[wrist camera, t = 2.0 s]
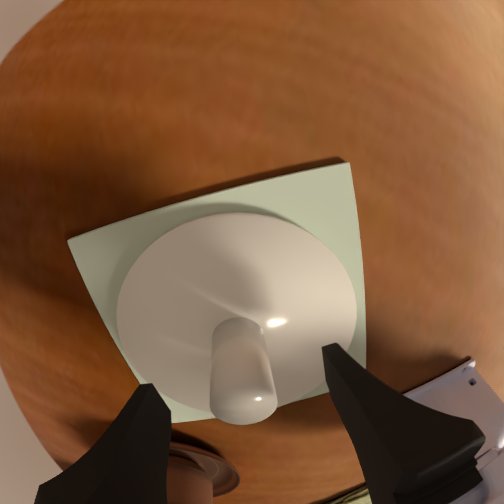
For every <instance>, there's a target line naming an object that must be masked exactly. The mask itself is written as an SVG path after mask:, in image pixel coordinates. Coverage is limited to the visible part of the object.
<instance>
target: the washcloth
mask: <svg viewBox="0 0 504 504" xmlns="http://www.w3.org/2000/svg"><path fill="white" fill-rule="evenodd" d="M325 504H372V502H371V498H370V495H369V491H368V488H367V485H366V486H363V487H361V488H359V489H357V490H355V491H353V492H351V493H349V494H347V495H345V496H343V497H341V498H338V499H336V500H333V501H331V502H328V503H325Z"/></svg>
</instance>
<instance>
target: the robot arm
mask: <svg viewBox="0 0 504 504" xmlns="http://www.w3.org/2000/svg"><path fill="white" fill-rule="evenodd" d="M321 348H322V356H323V364H324V372H325V380H326V383H327V386H328V389H329V392H330V395H331V398H332V400H333V402H334V405H335V407H336V409H337V411H338V413H339V415H340V417H341V419H342V421H343V423H344V425H345V428H346V430H347V432H348V434H349V436H350V438H351V440H352V443H353V445H354V447H355V450H356V453H357V456H358V459H359V462H360V465H361V468H362V471H363V475H364V478H365V481H366V484H367V488H368V491H369V495H370V498H371V502H372V504H504V447H503V446H504V403H503V402H502V400H501V399H500V398H499V397H498V396H497V394H496V393H495V392H494V391H493V389H492V388H491V387H490V386H489V385H488V384H487V382H486V381H485V380H484V379H483V378H482V376H481V375H480V374H479V373H478V372H477V371H476V370H475V368H474V365H475V360H474V359H471V360H469V361H467V362H465V363H464V364H462V365H460V366H459V367H457V368H455V369H453V370H451V371H449V372H448V373H446V374H444V375H442V376H440V377H438V378H436V379H434V380H432V381H430V382H428V383H426V384H424V385H422V386H420V387H418V388H416V389H413V390H411V391H409V392H407V393H405V394H401V393H399V392H397V391H395V390H394V389H392V388H391V387H389V386H388V385H386V384H385V383H383V382H382V381H380V380H379V379H378V378H376V377H375V376H374V375H372V374H371V373H370V372H369V371H367V370H366V369H365V368H364V367H362V366H361V365H360V364H359V363H358V362H357V361H356V360H354V359H353V358H352V357H351V356H350V355H349V354H348V353H347V352H346V351H345V350H344V349H343V348H342V347H341V346H340V345H339V344H338V343H336V342H335V343H332V344H329V345H326V346H322V347H321ZM171 432H172V421H171V410H170V409H169V407H168V406H167V404H166V403H165V402H164V400H163V399H162V397H161V396H160V394H159V393H158V391H157V390H156V388H155V386H154V385H153V383H147V384H140V385H139V386H138V388H137V389H136V390H135V392H134V393H133V395H132V396H131V398H130V399H129V400H128V402H127V403H126V405H125V406H124V408H123V409H122V410H121V412H120V413H119V415H118V416H117V417H116V419H115V420H114V422H113V423H112V424H111V425H110V427H109V428H108V429H107V430H106V432H105V433H104V434H103V436H102V437H101V438H100V439H99V440H98V441H97V442H96V443H95V444H94V446H93V447H92V448H91V449H90V450H89V451H88V452H87V453H86V454H84V455H83V456H82V457H81V458H80V459H79V460H78V461H76V462H75V463H74V464H73V465H72V466H70V467H69V468H68V469H66V470H65V471H63V472H62V473H60V474H59V475H57V476H56V477H54V478H52V479H51V480H49V481H47V482H45V483H43V484H41V485H39V488H38V492H37V495H36V499H35V502H34V504H168V503H167V483H166V479H167V466H168V458H169V449H170V441H171ZM502 447H503V448H502Z"/></svg>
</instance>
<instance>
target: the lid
mask: <svg viewBox="0 0 504 504" xmlns="http://www.w3.org/2000/svg"><path fill="white" fill-rule="evenodd" d="M116 314H117V328H118V334H119V338H120V341H121V344H122V347H123V349H124V351H125V353H126V355H127V357H128V359H129V361H130V362H131V364H132V365H133V366H134V368H135V369H136V371H137V372H138V373H139V374H140V375H141V376H142V377H143V378H144V379H145V380H146V381H147V382H148V383H153V385H154V386H155V388H156V390H158V391H159V392H161V393H162V394H164V395H165V396H167V397H169V398H171V399H173V400H174V401H176V402H179V403H181V404H183V405H186V406H189V407H192V408H195V409H198V410H202V411H207V412H212V413H213V415H214V416H215V417H217V418H218V419H220V420H222V421H224V422H227V423H230V424H237V425H246V424H253V423H257V422H260V421H262V420H264V419H266V418H268V417H269V416H270V415H272V414H273V412H274V411H275V410H276V408H277V407H280V406H283V405H285V404H288V403H290V402H292V401H295V400H297V399H299V398H301V397H302V396H304V395H306V394H307V393H309V392H310V391H312V390H313V389H315V388H316V387H317V386H318V385H320V384H321V383H322V382H323V381H324V380H325V372H324V364H323V356H322V348H321V347H322V346H326V345H329V344H332V343H335V342H336V343H338V344H339V345H340V346H341V347H342V348H343V349H344V350H345V351H346V352H347V350H348V348H349V346H350V344H351V341H352V338H353V334H354V331H355V325H356V319H357V305H356V298H355V292H354V289H353V286H352V283H351V280H350V278H349V276H348V274H347V272H346V270H345V268H344V267H343V265H342V264H341V262H340V261H339V260H338V258H337V257H336V256H335V255H334V254H333V252H332V251H331V250H330V249H329V248H328V247H327V246H326V245H325V244H324V243H323V242H322V241H321V240H320V239H318V238H317V237H316V236H314V235H313V234H311V233H310V232H309V231H307V230H306V229H304V228H302V227H300V226H298V225H296V224H294V223H292V222H290V221H287V220H285V219H282V218H279V217H276V216H272V215H267V214H263V213H257V212H245V211H231V212H218V213H213V214H208V215H204V216H200V217H197V218H194V219H191V220H188V221H185V222H183V223H181V224H179V225H177V226H175V227H173V228H171V229H170V230H168V231H166V232H165V233H164V234H162V235H161V236H159V237H158V238H157V239H155V240H154V241H153V242H152V243H151V244H150V245H149V246H148V247H147V248H146V249H145V250H144V251H143V252H142V253H141V255H140V256H139V258H138V259H137V260H136V262H135V263H134V264H133V266H132V267H131V269H130V270H129V272H128V274H127V276H126V278H125V280H124V282H123V284H122V287H121V290H120V293H119V297H118V303H117V310H116Z"/></svg>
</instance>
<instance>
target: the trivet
mask: <svg viewBox="0 0 504 504" xmlns="http://www.w3.org/2000/svg"><path fill="white" fill-rule="evenodd" d="M231 211H245V212H257V213H263V214H267V215H272V216H276V217H279V218H282V219H285V220H287V221H290V222H292V223H294V224H296V225H298V226H300V227H302V228H304V229H306V230H307V231H309V232H310V233H311V234H313V235H314V236H316V237H317V238H318V239H320V240H321V241H322V242H323V243H324V244H325V245H326V246H327V247H328V248H329V249H330V250H331V251H332V252H333V254H334V255H335V256H336V257H337V258H338V260H339V261H340V262H341V264H342V265H343V267H344V268H345V270H346V272H347V274H348V276H349V278H350V280H351V283H352V286H353V289H354V292H355V298H356V305H357V319H356V325H355V331H354V334H353V338H352V341H351V344H350V346H349V348H348V350H347V353H348V354H349V355H350V356H351V357H352V358H353V359H354V360H356V361H357V362H358V363H359V364H360V365H361V366H362V367H364V368H365V369H366V315H365V293H364V277H363V264H362V252H361V242H360V233H359V224H358V216H357V208H356V201H355V194H354V187H353V181H352V175H351V169H350V163H349V162H343V163H338V164H333V165H328V166H323V167H318V168H313V169H308V170H304V171H299V172H294V173H290V174H286V175H281V176H277V177H273V178H268V179H264V180H260V181H256V182H252V183H248V184H244V185H240V186H236V187H232V188H228V189H224V190H221V191H217V192H213V193H210V194H206V195H202V196H199V197H195V198H192V199H188V200H185V201H181V202H178V203H175V204H171V205H168V206H165V207H161V208H158V209H155V210H152V211H148V212H145V213H142V214H139V215H136V216H133V217H130V218H127V219H124V220H121V221H118V222H115V223H112V224H109V225H106V226H103V227H100V228H97V229H95V230H92V231H89V232H86V233H84V234H81V235H78V236H75V237H73V238H70V239H69V240H67V242H68V245H69V247H70V250H71V252H72V255H73V257H74V260H75V262H76V265H77V267H78V269H79V272H80V274H81V276H82V278H83V281H84V283H85V285H86V287H87V289H88V291H89V293H90V296H91V298H92V300H93V302H94V304H95V306H96V308H97V310H98V312H99V314H100V316H101V318H102V319H103V321H104V323H105V325H106V327H107V329H108V331H109V332H110V334H111V336H112V338H113V340H114V341H115V343H116V345H117V347H118V348H119V350H120V352H121V354H122V355H123V357H124V359H125V360H126V362H127V363H128V365H129V367H130V368H131V370H132V372H133V373H134V375H135V376H136V378H137V379H138V381H139V382H140V384H147V383H148V382H147V381H146V380H145V379H144V378H143V377H142V376H141V375H140V374H139V373H138V372H137V371H136V369H135V368H134V366H133V365H132V364H131V362H130V361H129V359H128V357H127V355H126V353H125V351H124V349H123V347H122V344H121V341H120V338H119V334H118V328H117V314H116V310H117V303H118V297H119V293H120V290H121V287H122V284H123V282H124V280H125V278H126V276H127V274H128V272H129V270H130V269H131V267H132V266H133V264H134V263H135V262H136V260H137V259H138V258H139V256H140V255H141V253H142V252H143V251H144V250H145V249H146V248H147V247H148V246H149V245H150V244H151V243H152V242H153V241H154V240H155V239H157V238H158V237H159V236H161V235H162V234H164V233H165V232H166V231H168V230H170V229H171V228H173V227H175V226H177V225H179V224H181V223H183V222H185V221H188V220H191V219H194V218H197V217H200V216H204V215H208V214H213V213H218V212H231ZM157 391H158V390H157ZM327 392H329V389H328V386H327V383H326V380H324V381H323V382H322V383H321V384H320V385H318V386H317V387H316V388H315V389H313V390H312V391H310V392H309V393H307V394H306V395H304V396H302V397H301V398H299V399H297V400H295V401H299V400H303V399H307V398H310V397H314V396H317V395H321V394H324V393H327ZM158 393H159V394H160V396H161V397H162V399H163V400H164V402H165V403H166V404H167V406H168V407H169V409H170V410H171V421H172V423H177V422H187V421H195V420H203V419H210V418H217V417H215V416H214V415H213V413H212V412H207V411H202V410H198V409H195V408H192V407H189V406H186V405H183V404H181V403H179V402H176V401H174V400H173V399H171V398H169V397H167V396H165V395H164V394H162V393H161V392H159V391H158ZM295 401H292V402H295ZM290 403H291V402H290Z"/></svg>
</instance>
